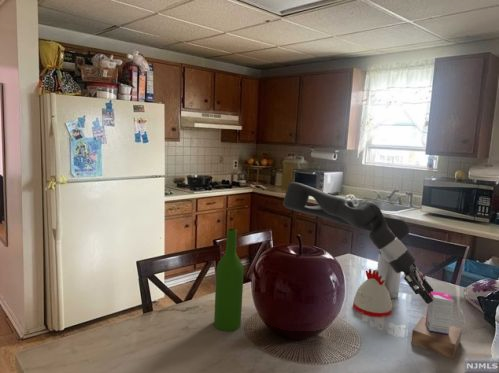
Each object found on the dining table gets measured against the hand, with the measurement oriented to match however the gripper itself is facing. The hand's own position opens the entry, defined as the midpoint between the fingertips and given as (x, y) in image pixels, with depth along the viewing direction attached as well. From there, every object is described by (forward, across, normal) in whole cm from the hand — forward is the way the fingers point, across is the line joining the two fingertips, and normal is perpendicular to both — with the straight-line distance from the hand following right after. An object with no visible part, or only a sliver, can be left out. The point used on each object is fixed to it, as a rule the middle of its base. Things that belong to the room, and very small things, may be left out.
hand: (430, 297), depth 117 cm
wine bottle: (-30, +25, -53) cm, 66 cm away
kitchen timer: (-2, -15, -24) cm, 29 cm away
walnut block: (+13, -1, -9) cm, 16 cm away
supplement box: (+10, -1, -5) cm, 11 cm away
